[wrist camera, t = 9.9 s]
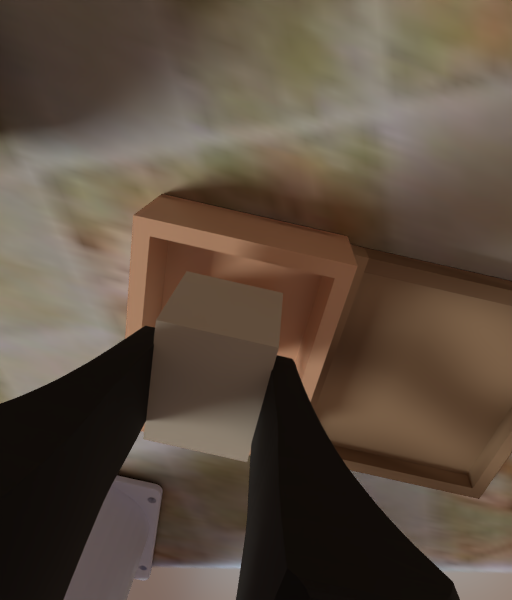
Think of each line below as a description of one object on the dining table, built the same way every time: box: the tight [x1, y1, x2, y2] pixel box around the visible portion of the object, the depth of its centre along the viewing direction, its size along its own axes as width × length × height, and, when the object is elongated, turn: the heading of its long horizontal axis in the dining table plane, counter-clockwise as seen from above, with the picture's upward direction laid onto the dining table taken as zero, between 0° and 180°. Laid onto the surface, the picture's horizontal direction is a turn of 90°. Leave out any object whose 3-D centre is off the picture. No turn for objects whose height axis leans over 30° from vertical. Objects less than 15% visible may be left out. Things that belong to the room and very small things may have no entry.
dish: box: [125, 194, 358, 455], centre depth 17 cm, size 10×8×3 cm
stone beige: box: [144, 271, 283, 462], centre depth 12 cm, size 4×3×3 cm
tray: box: [311, 244, 512, 499], centre depth 19 cm, size 11×10×1 cm
